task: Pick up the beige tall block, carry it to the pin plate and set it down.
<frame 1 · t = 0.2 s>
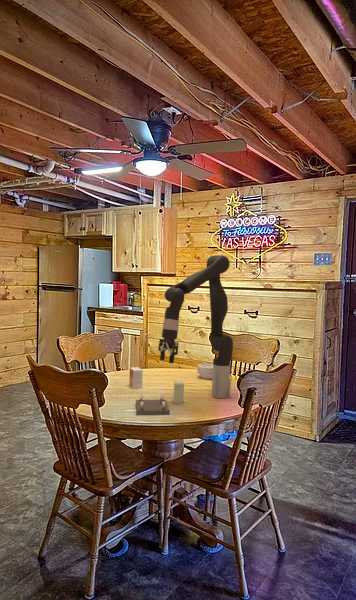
hand: (166, 361, 204), 22 cm above the table, fingers open, 8 cm apart
pin plate: (151, 409, 199), on the table
paper bowls: (209, 378, 267), on the table
small box: (135, 387, 239), on the table
beige tall block: (178, 402, 212), on the table
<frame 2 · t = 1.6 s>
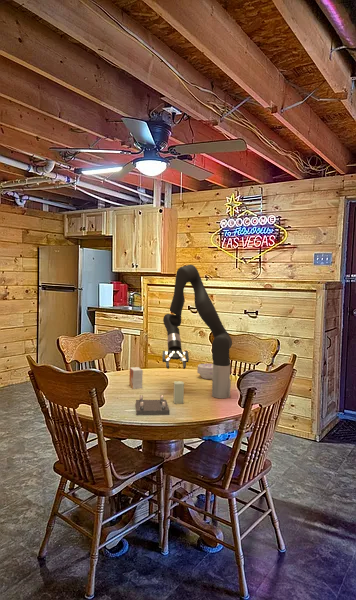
hand: (176, 368, 223), 15 cm above the table, fingers open, 8 cm apart
nothing on the table moved.
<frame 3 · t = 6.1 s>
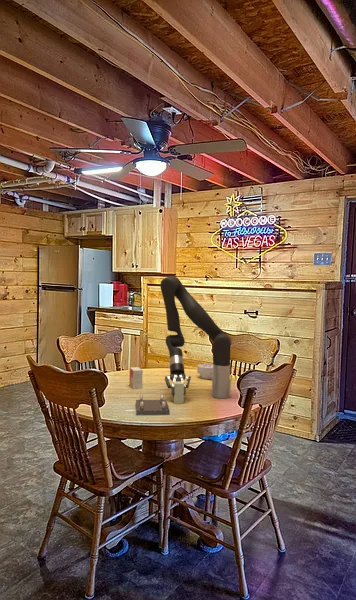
hand: (179, 394, 210), 4 cm above the table, fingers closed on beige tall block, 4 cm apart
beige tall block: (178, 402, 212), on the table, touching gripper
everything else where it was.
when the fingers open (8 cm above the table, at t = 14.1 s): beige tall block drops 1 cm, resting on pin plate.
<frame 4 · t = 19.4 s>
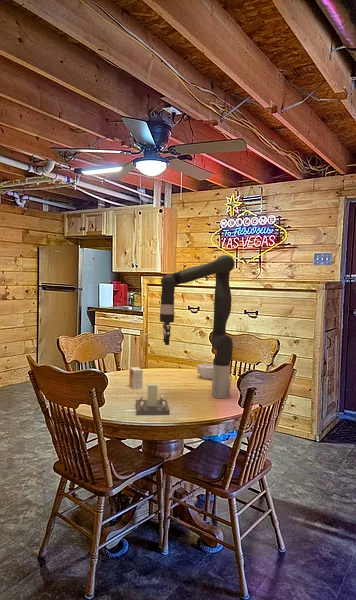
hand: (166, 343, 220), 28 cm above the table, fingers open, 8 cm apart
beige tall block: (152, 404, 199), point 2 cm above the table, touching pin plate
everything else where it was.
at the end: beige tall block 0.1 cm off-centre on the pin plate, point 2.0 cm above the pin plate's base; beige tall block tilted 0°; the gripper is holding nothing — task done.
